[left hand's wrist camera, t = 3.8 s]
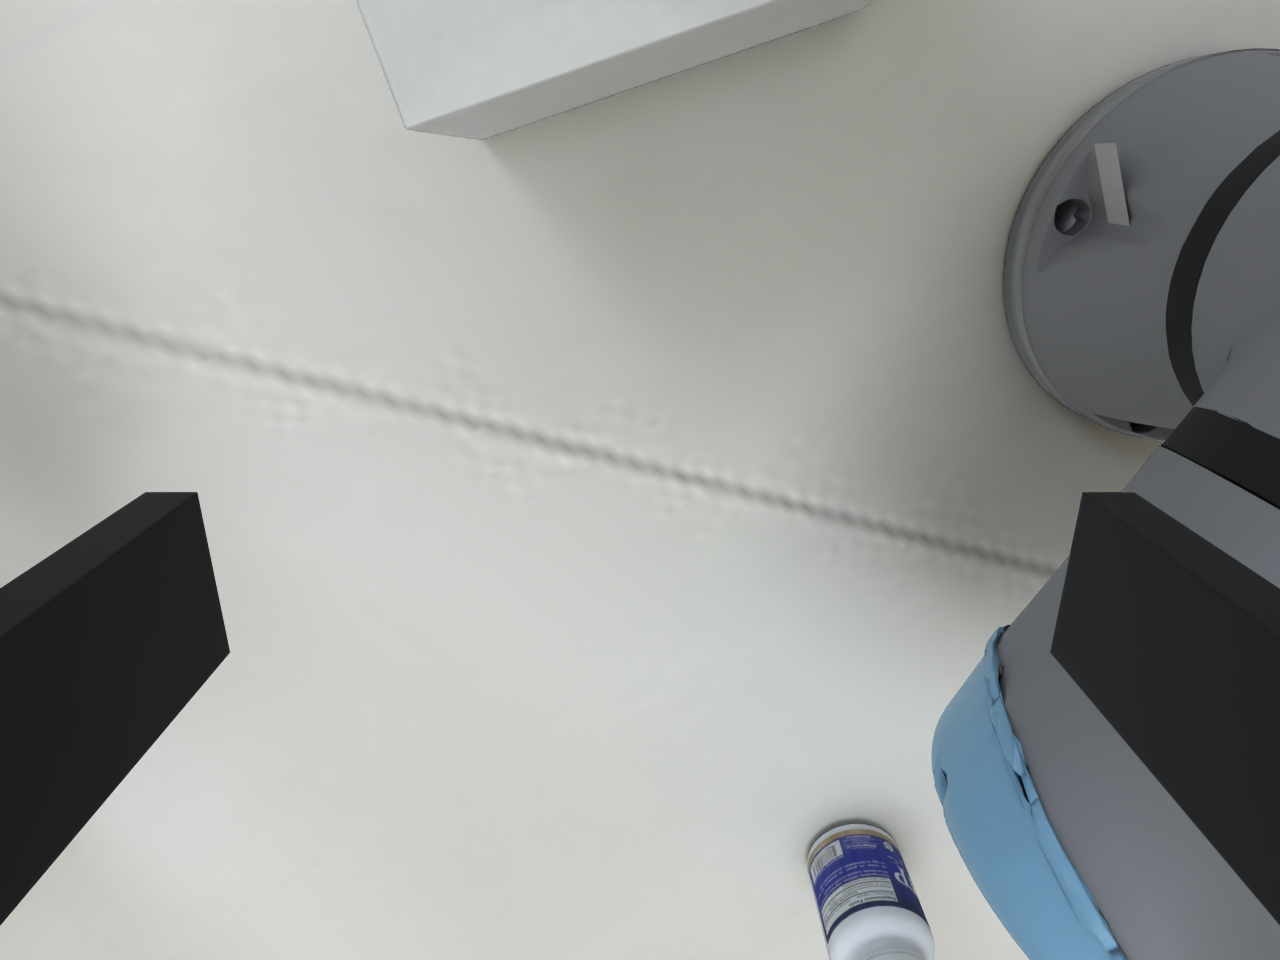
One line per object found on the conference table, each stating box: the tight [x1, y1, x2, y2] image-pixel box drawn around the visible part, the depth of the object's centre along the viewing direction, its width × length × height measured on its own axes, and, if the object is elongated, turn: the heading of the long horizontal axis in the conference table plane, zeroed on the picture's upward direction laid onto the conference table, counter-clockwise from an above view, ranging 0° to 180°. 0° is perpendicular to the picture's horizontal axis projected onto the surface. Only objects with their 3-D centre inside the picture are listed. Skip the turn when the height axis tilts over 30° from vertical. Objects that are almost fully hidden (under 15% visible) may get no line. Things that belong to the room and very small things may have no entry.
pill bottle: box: [807, 824, 935, 960], centre depth 43 cm, size 5×5×9 cm
